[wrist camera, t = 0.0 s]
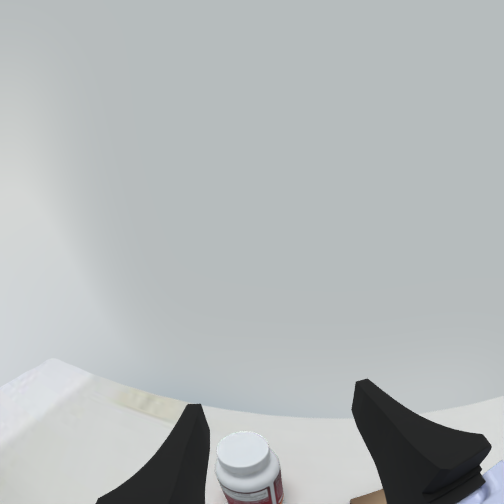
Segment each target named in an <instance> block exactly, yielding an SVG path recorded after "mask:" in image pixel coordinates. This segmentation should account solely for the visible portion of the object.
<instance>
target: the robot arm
mask: <svg viewBox="0 0 504 504" xmlns="http://www.w3.org/2000/svg"><path fill="white" fill-rule="evenodd" d="M352 413H353V416H354V419H355V422H356V425H357V428H358V430H359V432H360V434H361V436H362V438H363V440H364V442H365V444H366V446H367V448H368V450H369V452H370V454H371V456H372V458H373V460H374V462H375V465H376V467H377V470H378V473H379V476H380V480H381V483H382V486H383V490H384V493H385V497H386V501H387V504H504V461H503V460H501V461H500V462H498V463H497V464H496V465H495V466H493V467H492V468H491V469H489V470H488V471H487V472H486V473H484V474H483V475H481V474H480V472H481V471H482V468H481V467H480V464H481V462H482V461H483V460H484V459H485V457H486V456H487V455H488V453H489V452H490V450H491V447H492V446H491V444H490V443H489V442H488V440H487V439H486V438H485V437H484V435H483V434H476V433H469V432H464V431H459V430H455V429H452V428H448V427H445V426H442V425H440V424H437V423H434V422H432V421H430V420H428V419H426V418H423V417H421V416H419V415H418V414H416V413H414V412H412V411H411V410H409V409H407V408H406V407H404V406H403V405H401V404H400V403H398V402H397V401H396V400H394V399H393V398H392V397H390V396H389V395H388V394H386V393H385V392H384V391H382V390H381V389H380V388H379V387H377V386H376V385H375V384H374V383H372V382H371V381H370V380H369V379H364V380H361V381H357V382H356V384H355V391H354V398H353V404H352ZM209 452H210V429H209V427H208V424H207V421H206V418H205V415H204V412H203V409H202V406H201V404H188V405H187V406H186V407H185V409H184V411H183V413H182V415H181V417H180V418H179V420H178V422H177V423H176V425H175V427H174V428H173V430H172V431H171V433H170V435H169V436H168V438H167V439H166V440H165V442H164V443H163V444H162V446H161V447H160V448H159V450H158V451H157V452H156V453H155V455H154V456H153V457H152V458H151V459H150V460H149V461H148V462H147V463H146V464H145V465H144V466H143V467H142V468H141V469H140V470H139V471H138V472H137V473H136V474H135V475H133V476H132V477H131V478H130V479H128V480H127V481H126V482H124V483H123V484H122V485H120V486H119V487H117V488H116V489H114V490H112V491H111V492H109V493H107V494H105V495H104V496H102V497H100V498H98V500H97V502H96V504H205V483H206V475H207V468H208V460H209Z"/></svg>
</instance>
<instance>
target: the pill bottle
mask: <svg viewBox="0 0 504 504" xmlns="http://www.w3.org/2000/svg"><path fill="white" fill-rule="evenodd" d="M216 454H217V457H218V458H217V460H216V463H215V473H216V476H217V479H218V481H219V483H220V486H221V488H222V490H223V492H224V494H225V497H226V499H227V501H228V503H229V504H282V502H283V487H282V479H281V470H280V463H279V459H278V457H277V455H276V454H275V452H274V451H272V450H271V449H270V448H269V444H268V442H267V440H266V439H265V438H264V437H263V436H261V435H260V434H257V433H254V432H249V431H241V432H235V433H232V434H230V435H228V436H226V437H224V438H223V439H222V440H221V441H220V442H219V444H218V445H217V449H216Z"/></svg>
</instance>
